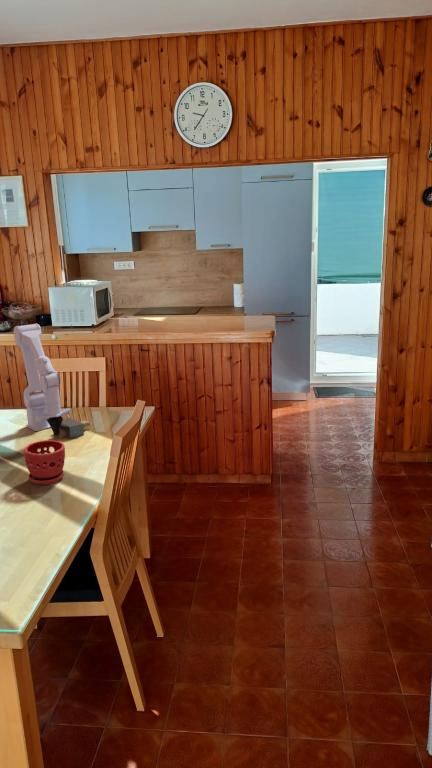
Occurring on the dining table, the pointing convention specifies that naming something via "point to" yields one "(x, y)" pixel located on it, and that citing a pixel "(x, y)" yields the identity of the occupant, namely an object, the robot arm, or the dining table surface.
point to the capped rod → (64, 430)
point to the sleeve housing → (72, 427)
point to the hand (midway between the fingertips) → (56, 434)
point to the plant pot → (45, 461)
